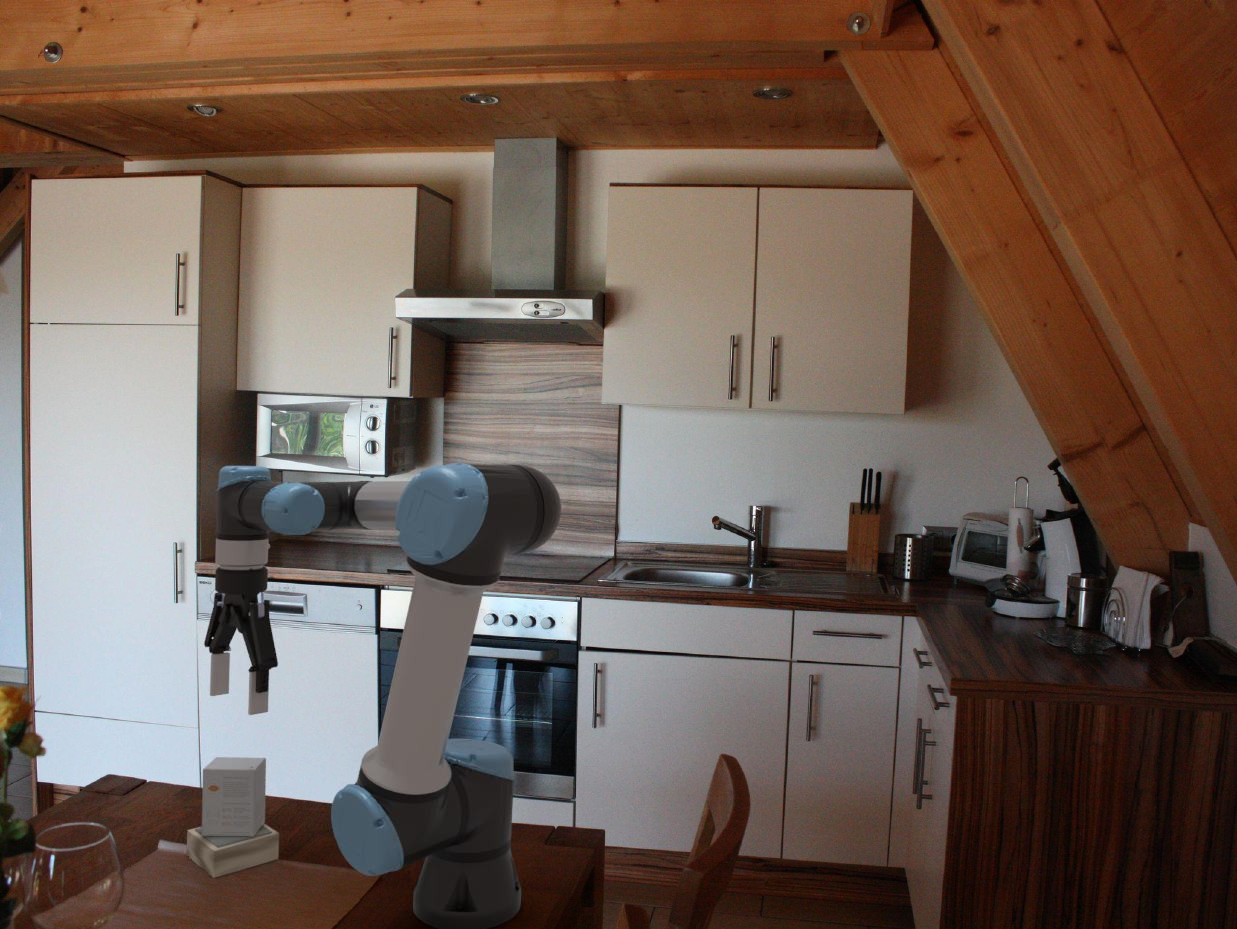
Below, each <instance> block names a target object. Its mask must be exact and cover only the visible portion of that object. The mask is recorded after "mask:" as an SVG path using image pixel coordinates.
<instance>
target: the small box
mask: <svg viewBox="0 0 1237 929" xmlns="http://www.w3.org/2000/svg"><path fill="white" fill-rule="evenodd" d="M266 766H267V759H266V757H236V756H235V757H232V756H231V757H228V756H227V757H225V756H224V757H222V756H217V757H215V758H213V760H212V761H210V763H208V764H207V765H206V766H204V768H203V769H202V797H201V798H202V800H201V801H202V802H201V804H202V805H201V827H202V836H240V837H253V836H254V835H255V834H256V833H257V831H258V830H259V829H260V828H261V826H262V825H263V824H265V822H266V787H267V786H266V784H267V782H266V778H267V775H266V774H267V767H266Z"/></svg>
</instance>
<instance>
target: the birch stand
mask: <svg viewBox="0 0 1237 929" xmlns="http://www.w3.org/2000/svg"><path fill="white" fill-rule="evenodd" d="M186 832H187V833H186V857H188V856H189V857H188V858H189V859H190V860H191V859H192V860H191V861H192V862H194V864H196V865H197V866H198V867H200V869H202V870H203V871H205V872H206V873H207V874H208V875H209V876H211V877H212V879H214V878H218V877H221V876H226V875H229V874H233V873H236V872H239V871H243V870H246V869H249V868H252V867H256V866H259V865H262V864H268V863H269V862H273V861H276V860H279V847H280V832H278V831H276V830H275V829H273V828H272V827H271V826H269V825H268V824H266V823H264V824H263V825H262V826H261V828H260V829H259V830H258V831H257V833H256V834H255V835H254V836H253V837H240V836H202V826H198V827H194V828H191V829H187V831H186Z"/></svg>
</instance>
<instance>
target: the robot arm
mask: <svg viewBox="0 0 1237 929" xmlns="http://www.w3.org/2000/svg"><path fill="white" fill-rule="evenodd" d="M271 477H272V476H271V470H270V469H269V468H268V467H267V466H259V465H257V466H256V465H226V466H223V467H222V468H220V470H219V472H218V482H217V483H218V484H217V489H216V538H215V562H214V563H215V564H216V565H218V566H219V567H217V569H215V576H214V580H215V582H214V589H215V593H214V596H213V598H214V599H213V607H212V611H211V615H210V619H209V623H208V626H207V631H206V635H205V638H204V642H203V644H204V647H205V648H208V651H209V653H210V680H209V681H210V682H209V696H211V697H216V696H221V695H229V693H230V667H231V666H230V663H231V662H230V660H231V653H230V652H231V651H232V648H231V643H232V640H233V638H234V636H235V633H236V632H238V633H239V634H241V635H242V637H243V641H244V644H245V647H246V648H245V649H246V651H247V653H248V658H249V661H250V664H251V666H250V667H249V669H248V673H249V675H248V676H249V677H248V706H247V707H248V708H247V709H248V710H247V711H248V713H247V714H248V715H249V716H253V715H254V716H255V715H259V714H265V713H266V714H267V713H268V712H269V691H270V690H269V689H270V688H269V687H270V684H269V683H270V670H272V669H273V668H277V667H278V666H279V665H278V664H279V661H278V656H277V650H276V645H275V640H274V634H273V629H272V624H271V621H270V620H271V619H270V605H269V602H268V601H267V602H266V601H264V602H259V598H258V597H259V594H261V593H264V592H265V591H267V589H268V578H269V575H268V574H269V572H268V571H269V570H268V568H267V567H266V566H265V565H266V564H267V563H268V562H269V561H268V560H269V549H270V548H271V545H270V543H269V538H270V537H269V536H270V534H269V532H271V533H276V534H277V533H278V534H281V535H283V536H304V535H307V534H309V533H311V532H325V531H338V530H340V531H341V530H343V531H345V530H362V531H363V530H364V531H365V530H366V531H368V530H369V531H370V530H371V531H373V530H376V531H394V532H395V531H397V532H398V531H399V534H398V536H397V540H398V543H399V545H400V548H401V549H402V550H403V552H404V554H406V566H407V567H408V569H409V570H410V572H411V573H412V574H413V576H414V577H415V578H414V582H413V586H412V587H413V588H412V591H411V595H410V599H409V604H408V609H407V613H406V617H405V623H404V626H403V627H404V628H403V631H402V634H401V635H402V636H401V640H400V645H399V649H398V653H397V658H396V660H395V661H396V662H395V667H394V670H393V671H394V672H393V676H392V679H391V684H390V688H389V693H388V697H387V698H388V699H387V702H386V707H385V712H384V715H383V720H382V724H381V729H380V733H379V738H378V742H377V745H376V746H374V747H372V748H371V749H369V750H367V751H366V752H365V753H364V754H363V757H362V759H361V762H360V768H359V771H358V776H357V779H356V782H355V783H349V784H346V785H345V786H344V787H343V788H342V789H340V790H338V792H336V794H335V795H334V797H333V800H332V802H331V810H330V812H331V813H330V820H331V827H332V832H333V837H334V838H335V840H336V843H337V846H338V849H339V850H340V853H341V854H342V855H343V858H344V859H345V861H346V862H347V863H348V864H349V865H350V866H351V867H352V868H353V869H354V870H356V871H357V872H359V873H361V874H362V875H364V876H368V877H374V876H375V877H377V876H381V875H384V874H387V873H389V872H396V871H399V870H401V868H403V867H406V866H408V865H411V864H413V863H415V862H418V861H420V860H422V859H424V861H423V865H422V868H421V871H420V874H419V878H418V881H417V883H416V885H415V887H414V890H413V895H412V896H413V897H412V898H413V900H412V902H413V903H412V905H413V906H412V910H413V913H414V916H416V918H417V919H418V920H419V921H421V922H422V923H424V924H426V925H427V926H430V927H432V928H435V929H492V928H495V927H498V926H501V925H503V924H505V923H507V922H509V921H510V920H512V919H513V918H515V916H517V914H518V912H519V911H520V910H521V907H522V906H521V905H522V904H521V902H522V887H521V884H520V880H519V876H518V872H517V869H516V866H515V863H514V858H513V855H512V851H511V845H512V844H511V843H512V842H511V840H512V825H513V822H512V821H513V806H514V804H513V803H514V802H513V800H514V784H515V782H514V781H515V775H514V758H513V754H512V753H511V751H510V750H509V749H508V748H506V747H505V746H503V745H501V744H498V743H494V742H492V741H486V740H482V739H474V738H473V739H472V738H449V737H450V734H451V729H452V724H453V720H454V716H455V712H456V708H457V704H458V699H459V695H460V692H461V688H462V687H461V686H462V684H463V678H464V675H465V670H466V666H467V661H468V658H469V654H470V649H471V646H472V640H473V638H474V637H473V636H474V634H475V633H474V632H475V629H476V624H477V621H478V617H479V611H480V608H481V604H482V599H483V596H484V592H485V591H487V590H488V589H490V588H492V587H494V586H495V585H497V584H498V583H499V581H500V578H501V577H500V576H501V572H502V568H503V564H504V560H505V557H506V556H513V555H515V556H516V555H520V554H521V555H522V554H526V553H529V552H532V551H534V550H537V549H538V548H540V547H542V546H543V545H545V544H546V543H547V542H548V541H549V540H550V539H551V538H552V537H553V535H554V534H555V533H556V532H557V529H558V526H559V524H560V521H561V515H562V503H561V497H560V494H559V491H558V489H557V487H556V486H555V484H554V483H553V482H552V480H551V479H550V478H549V477H548V476H547V475H546V474H545V473H543V472H542V471H540V470H538V469H537V468H534V467H531V466H528V465H522V464H479V463H478V464H475V463H474V464H473V463H464V462H454V463H447V464H442V465H441V464H439V465H433V466H430V467H427V468H425V469H423V470H422V471H421V472H418V473H417V474H416V475H414V476H413V477H412V478H411V480H390V481H389V480H388V481H387V480H383V481H381V480H377V481H376V480H374V481H373V480H358V481H272V479H271Z"/></svg>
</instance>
